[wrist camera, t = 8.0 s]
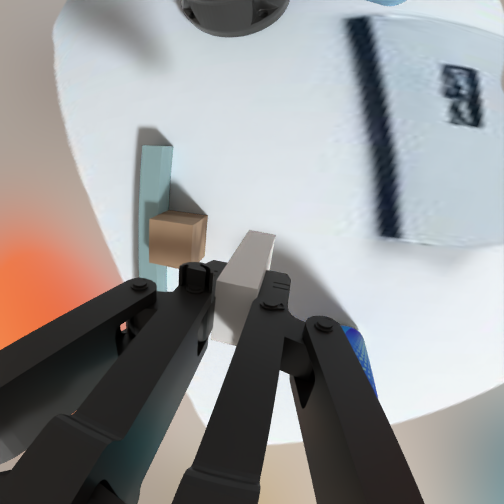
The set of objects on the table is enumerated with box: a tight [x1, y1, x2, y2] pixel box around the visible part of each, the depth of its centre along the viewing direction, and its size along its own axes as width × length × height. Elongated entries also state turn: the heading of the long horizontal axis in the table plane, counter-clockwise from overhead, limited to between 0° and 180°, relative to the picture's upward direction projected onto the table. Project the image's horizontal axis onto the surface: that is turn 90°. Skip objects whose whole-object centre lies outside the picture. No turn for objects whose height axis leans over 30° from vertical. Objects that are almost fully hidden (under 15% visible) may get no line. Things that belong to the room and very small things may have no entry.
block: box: [149, 210, 208, 269], centre depth 40 cm, size 6×6×6 cm
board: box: [139, 145, 173, 292], centre depth 41 cm, size 24×3×4 cm, turn 173°
